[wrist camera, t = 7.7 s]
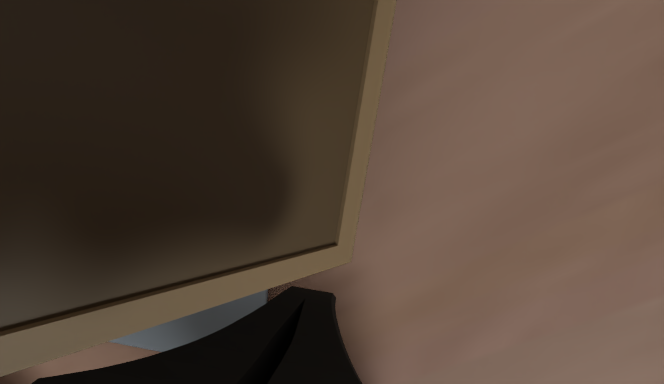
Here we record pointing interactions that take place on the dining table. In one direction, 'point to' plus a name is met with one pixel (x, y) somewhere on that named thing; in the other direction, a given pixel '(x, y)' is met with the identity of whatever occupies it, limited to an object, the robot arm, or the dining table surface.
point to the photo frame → (175, 157)
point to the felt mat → (194, 324)
